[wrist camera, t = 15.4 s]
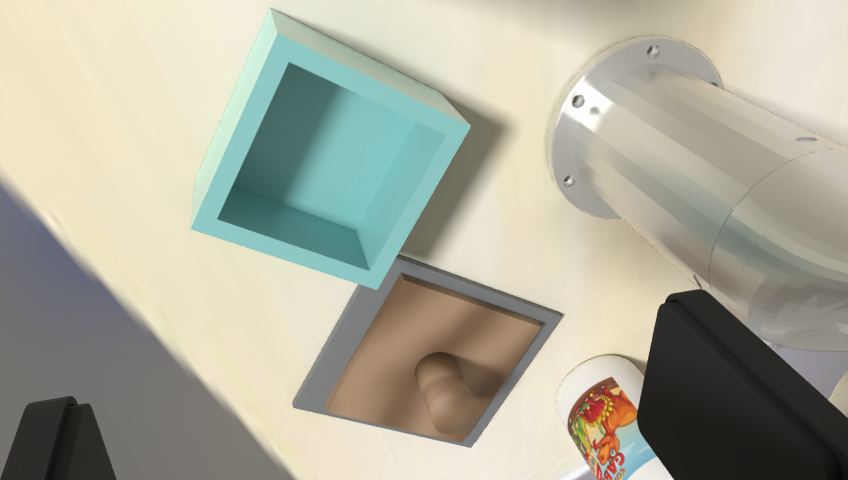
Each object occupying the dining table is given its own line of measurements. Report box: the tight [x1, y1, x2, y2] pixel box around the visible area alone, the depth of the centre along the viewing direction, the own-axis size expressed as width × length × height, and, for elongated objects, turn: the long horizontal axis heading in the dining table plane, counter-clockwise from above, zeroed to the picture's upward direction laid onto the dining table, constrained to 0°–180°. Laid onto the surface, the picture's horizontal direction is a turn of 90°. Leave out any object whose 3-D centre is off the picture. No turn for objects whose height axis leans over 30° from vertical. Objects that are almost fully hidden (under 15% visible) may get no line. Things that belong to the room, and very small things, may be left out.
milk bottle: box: [556, 355, 674, 480], centre depth 49 cm, size 8×8×20 cm
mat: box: [292, 255, 562, 448], centre depth 51 cm, size 16×14×1 cm
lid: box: [325, 273, 542, 443], centre depth 48 cm, size 12×12×6 cm
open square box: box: [191, 8, 471, 290], centre depth 38 cm, size 11×11×6 cm
